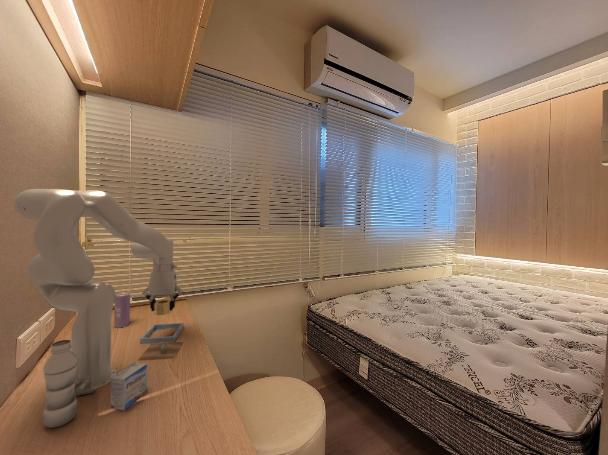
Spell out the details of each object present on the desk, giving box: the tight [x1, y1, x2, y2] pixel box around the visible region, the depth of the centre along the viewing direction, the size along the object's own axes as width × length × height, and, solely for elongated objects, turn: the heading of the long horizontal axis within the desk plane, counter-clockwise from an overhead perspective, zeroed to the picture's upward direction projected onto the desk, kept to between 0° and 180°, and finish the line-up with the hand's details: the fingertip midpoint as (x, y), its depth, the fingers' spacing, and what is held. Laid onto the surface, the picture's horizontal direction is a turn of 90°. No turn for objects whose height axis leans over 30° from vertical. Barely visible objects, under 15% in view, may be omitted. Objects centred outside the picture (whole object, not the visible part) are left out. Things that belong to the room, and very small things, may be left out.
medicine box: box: [110, 362, 148, 411], centre depth 73 cm, size 8×4×9 cm, turn 168°
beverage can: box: [113, 292, 131, 329], centre depth 122 cm, size 6×6×15 cm
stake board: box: [137, 341, 184, 361], centre depth 98 cm, size 13×12×5 cm
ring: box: [152, 296, 172, 316], centre depth 111 cm, size 10×6×4 cm, turn 11°
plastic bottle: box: [42, 339, 79, 429], centre depth 64 cm, size 6×7×20 cm
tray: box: [139, 322, 185, 345], centre depth 111 cm, size 15×13×3 cm
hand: (162, 309), depth 109 cm, fingers closed on ring, 6 cm apart
